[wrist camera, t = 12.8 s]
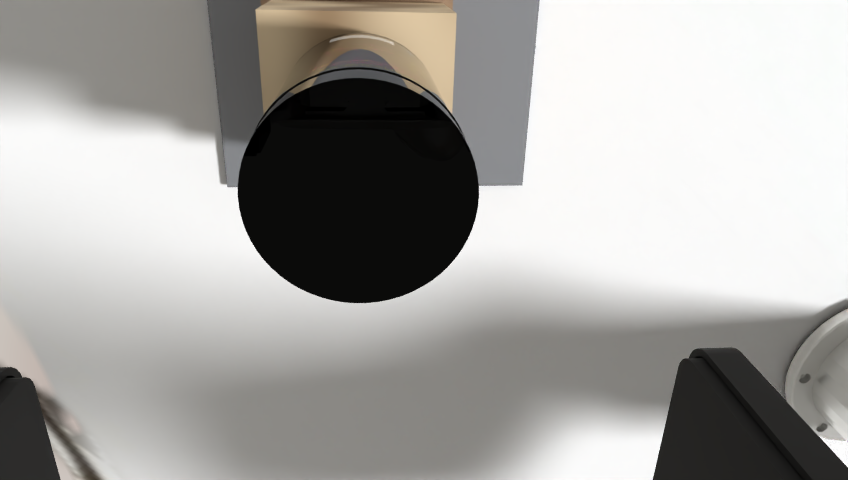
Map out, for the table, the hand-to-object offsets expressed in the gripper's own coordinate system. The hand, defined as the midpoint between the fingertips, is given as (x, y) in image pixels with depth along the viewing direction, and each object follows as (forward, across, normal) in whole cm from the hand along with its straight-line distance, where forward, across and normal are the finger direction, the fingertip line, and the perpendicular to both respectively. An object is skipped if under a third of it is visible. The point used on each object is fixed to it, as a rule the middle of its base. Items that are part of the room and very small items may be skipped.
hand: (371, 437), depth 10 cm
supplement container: (+20, 0, 0) cm, 20 cm away
